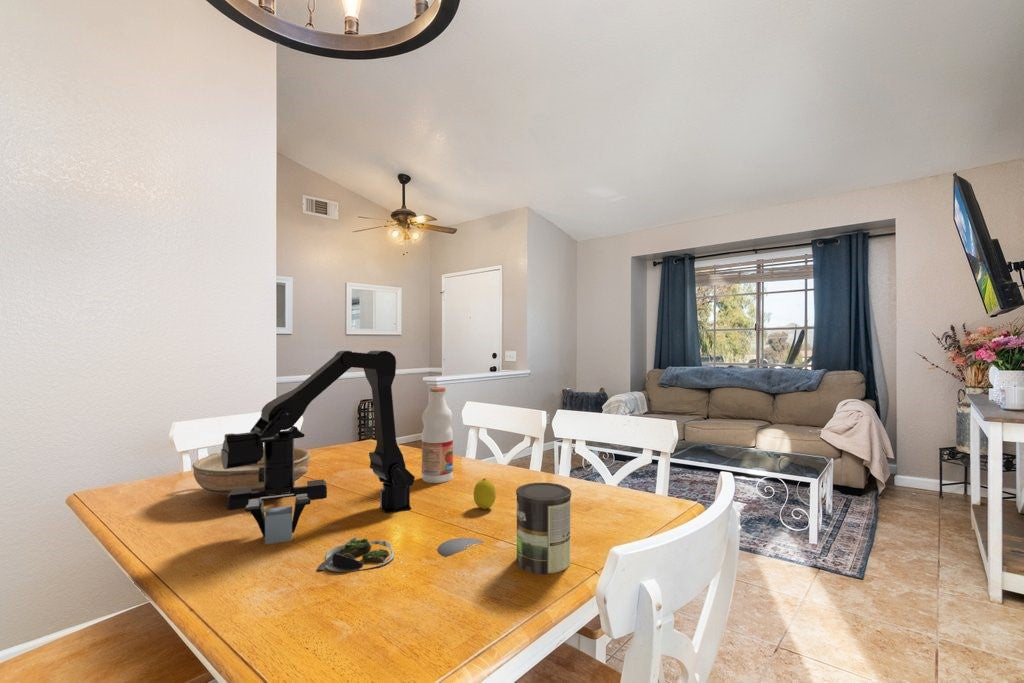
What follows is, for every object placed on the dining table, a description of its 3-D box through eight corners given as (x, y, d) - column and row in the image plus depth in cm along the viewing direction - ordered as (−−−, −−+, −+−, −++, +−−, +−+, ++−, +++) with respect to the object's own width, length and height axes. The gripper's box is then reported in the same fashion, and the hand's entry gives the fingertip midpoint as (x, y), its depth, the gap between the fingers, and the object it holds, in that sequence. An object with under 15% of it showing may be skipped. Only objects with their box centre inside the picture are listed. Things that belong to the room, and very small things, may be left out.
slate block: (292, 533, 104) (292, 505, 104) (291, 541, 99) (291, 513, 99) (266, 536, 102) (266, 508, 102) (264, 545, 97) (265, 516, 97)
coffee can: (518, 580, 83) (518, 500, 83) (513, 554, 93) (513, 482, 93) (576, 578, 84) (576, 498, 84) (565, 552, 94) (565, 481, 94)
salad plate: (323, 547, 98) (323, 530, 98) (391, 540, 101) (391, 523, 101) (316, 582, 83) (316, 562, 83) (395, 571, 87) (395, 552, 87)
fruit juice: (420, 476, 148) (420, 386, 148) (450, 474, 151) (450, 385, 151) (422, 485, 139) (422, 389, 139) (454, 482, 142) (454, 388, 142)
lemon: (492, 515, 115) (492, 482, 115) (470, 513, 116) (470, 480, 116) (498, 507, 120) (498, 475, 120) (477, 505, 121) (477, 474, 121)
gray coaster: (478, 537, 102) (478, 534, 102) (495, 556, 92) (495, 553, 92) (432, 545, 98) (432, 542, 98) (445, 566, 88) (445, 563, 88)
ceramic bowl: (158, 499, 127) (158, 461, 127) (257, 472, 152) (257, 441, 152) (249, 521, 111) (249, 478, 111) (342, 488, 136) (342, 453, 136)
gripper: (325, 449, 112) (325, 515, 112) (233, 456, 104) (233, 527, 104) (326, 459, 102) (326, 532, 102) (226, 468, 94) (226, 547, 94)
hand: (279, 534), depth 101 cm, fingers closed on slate block, 5 cm apart
